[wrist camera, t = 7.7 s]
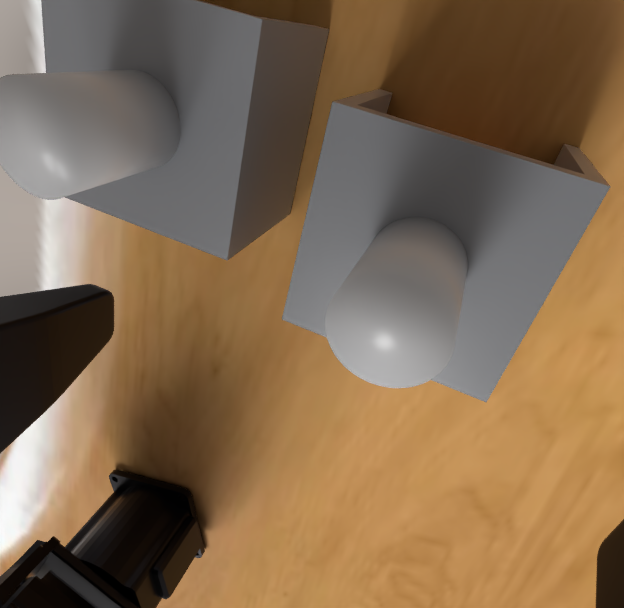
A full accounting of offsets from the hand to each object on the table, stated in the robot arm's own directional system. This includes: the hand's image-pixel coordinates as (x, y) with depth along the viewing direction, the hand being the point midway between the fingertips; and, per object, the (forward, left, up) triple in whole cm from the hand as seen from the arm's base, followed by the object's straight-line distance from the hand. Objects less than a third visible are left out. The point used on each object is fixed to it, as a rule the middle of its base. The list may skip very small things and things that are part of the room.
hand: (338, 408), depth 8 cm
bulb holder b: (0, 0, -12) cm, 12 cm away
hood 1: (-8, +4, -12) cm, 15 cm away
